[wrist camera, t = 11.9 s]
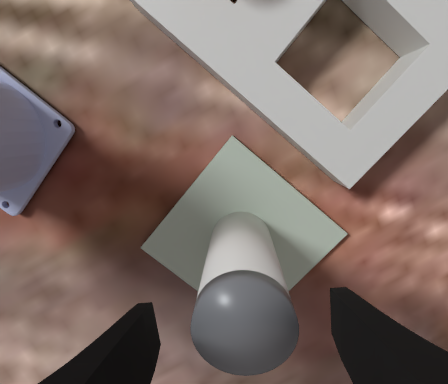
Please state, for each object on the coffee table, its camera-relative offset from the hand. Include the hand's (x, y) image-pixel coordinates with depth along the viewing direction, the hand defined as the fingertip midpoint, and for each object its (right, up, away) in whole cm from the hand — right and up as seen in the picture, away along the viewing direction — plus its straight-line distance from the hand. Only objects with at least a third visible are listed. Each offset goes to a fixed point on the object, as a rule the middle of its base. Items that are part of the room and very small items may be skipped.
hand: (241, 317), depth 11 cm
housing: (+4, +15, +5) cm, 16 cm away
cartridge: (0, +2, +7) cm, 8 cm away
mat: (+1, +2, +8) cm, 8 cm away
